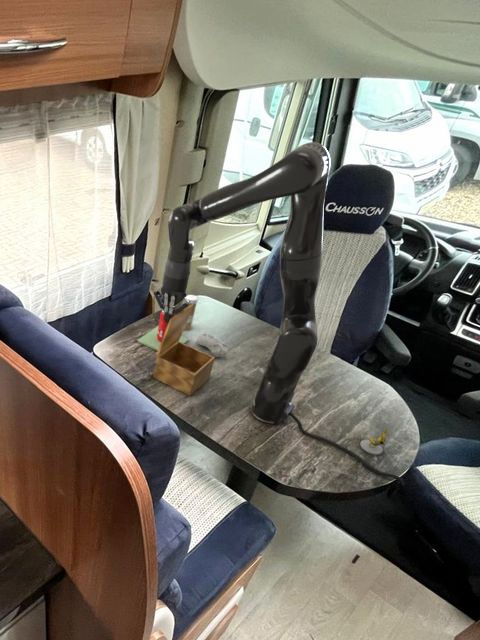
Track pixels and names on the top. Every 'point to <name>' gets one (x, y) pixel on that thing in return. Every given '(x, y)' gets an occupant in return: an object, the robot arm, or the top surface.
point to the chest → (183, 367)
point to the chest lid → (174, 329)
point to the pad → (155, 339)
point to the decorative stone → (212, 344)
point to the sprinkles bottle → (190, 319)
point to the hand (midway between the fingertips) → (168, 322)
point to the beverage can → (162, 327)
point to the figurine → (374, 444)
